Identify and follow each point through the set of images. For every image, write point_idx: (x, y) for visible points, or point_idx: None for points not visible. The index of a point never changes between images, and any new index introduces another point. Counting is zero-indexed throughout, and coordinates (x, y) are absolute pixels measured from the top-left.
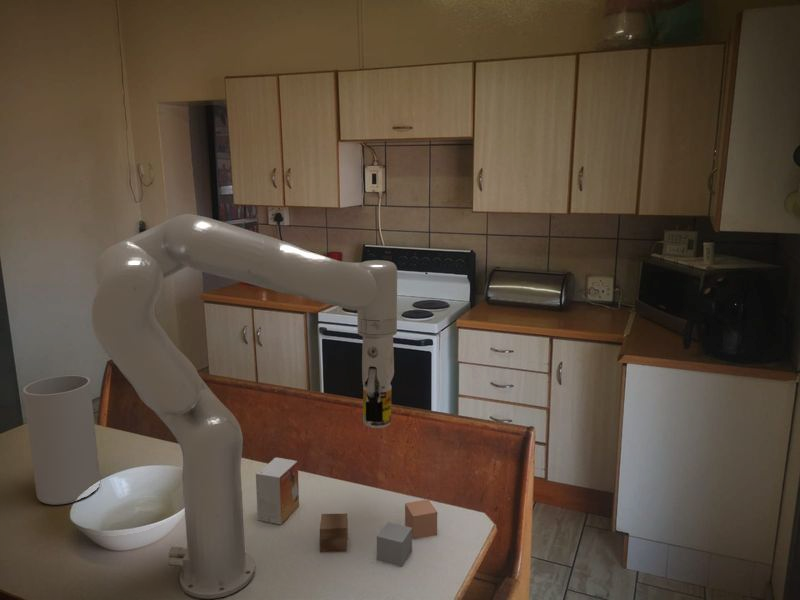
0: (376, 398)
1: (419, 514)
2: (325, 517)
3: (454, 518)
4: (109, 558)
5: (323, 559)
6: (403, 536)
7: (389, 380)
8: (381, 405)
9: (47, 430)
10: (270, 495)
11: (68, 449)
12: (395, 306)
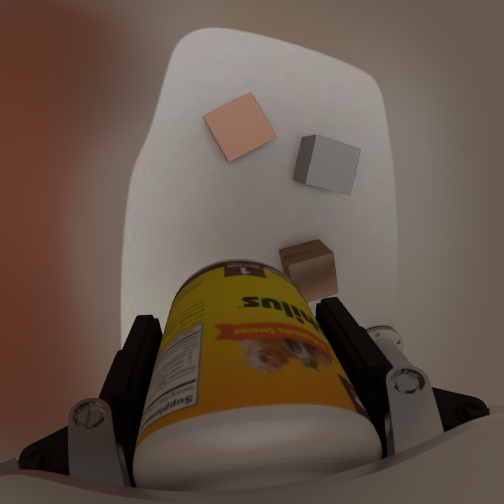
0: (458, 397)
1: (267, 125)
2: (306, 296)
3: (187, 79)
4: None
5: (338, 265)
6: (345, 148)
7: (457, 486)
8: (373, 353)
9: None
10: None
11: None
12: None
